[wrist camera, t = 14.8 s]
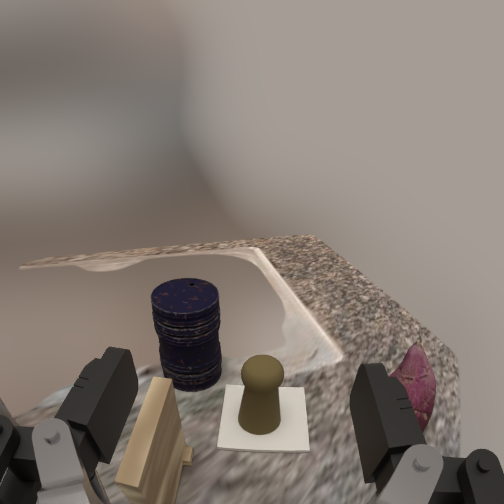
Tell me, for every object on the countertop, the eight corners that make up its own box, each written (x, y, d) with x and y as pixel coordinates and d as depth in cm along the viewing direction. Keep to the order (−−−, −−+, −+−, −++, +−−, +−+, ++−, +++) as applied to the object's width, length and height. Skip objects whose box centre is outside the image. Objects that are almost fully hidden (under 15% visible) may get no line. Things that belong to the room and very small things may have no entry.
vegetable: (357, 412, 46) (362, 330, 43) (415, 401, 45) (426, 321, 43) (372, 454, 35) (384, 364, 33) (438, 438, 34) (458, 349, 32)
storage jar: (212, 398, 45) (206, 319, 39) (153, 384, 47) (137, 306, 41) (228, 357, 54) (227, 282, 48) (176, 347, 56) (167, 273, 50)
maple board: (143, 526, 24) (103, 478, 19) (164, 445, 36) (144, 375, 31) (177, 533, 24) (150, 490, 18) (194, 449, 36) (181, 380, 30)
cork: (235, 405, 43) (234, 349, 39) (275, 400, 44) (281, 345, 40) (241, 437, 38) (241, 384, 33) (285, 431, 39) (294, 377, 34)
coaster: (217, 449, 36) (217, 447, 36) (226, 386, 47) (226, 384, 47) (308, 452, 36) (309, 450, 36) (303, 390, 47) (303, 387, 47)
